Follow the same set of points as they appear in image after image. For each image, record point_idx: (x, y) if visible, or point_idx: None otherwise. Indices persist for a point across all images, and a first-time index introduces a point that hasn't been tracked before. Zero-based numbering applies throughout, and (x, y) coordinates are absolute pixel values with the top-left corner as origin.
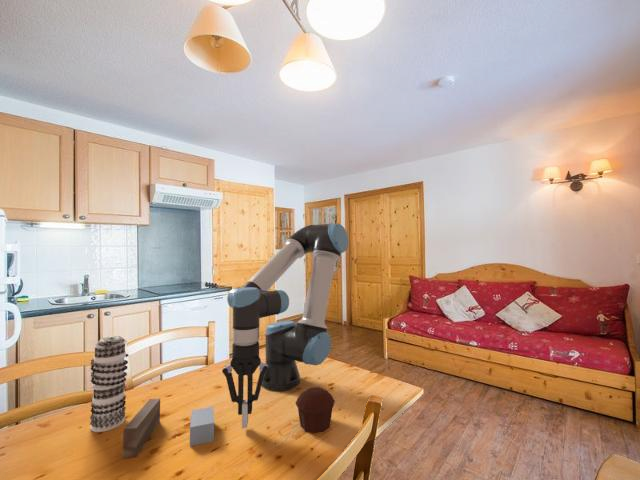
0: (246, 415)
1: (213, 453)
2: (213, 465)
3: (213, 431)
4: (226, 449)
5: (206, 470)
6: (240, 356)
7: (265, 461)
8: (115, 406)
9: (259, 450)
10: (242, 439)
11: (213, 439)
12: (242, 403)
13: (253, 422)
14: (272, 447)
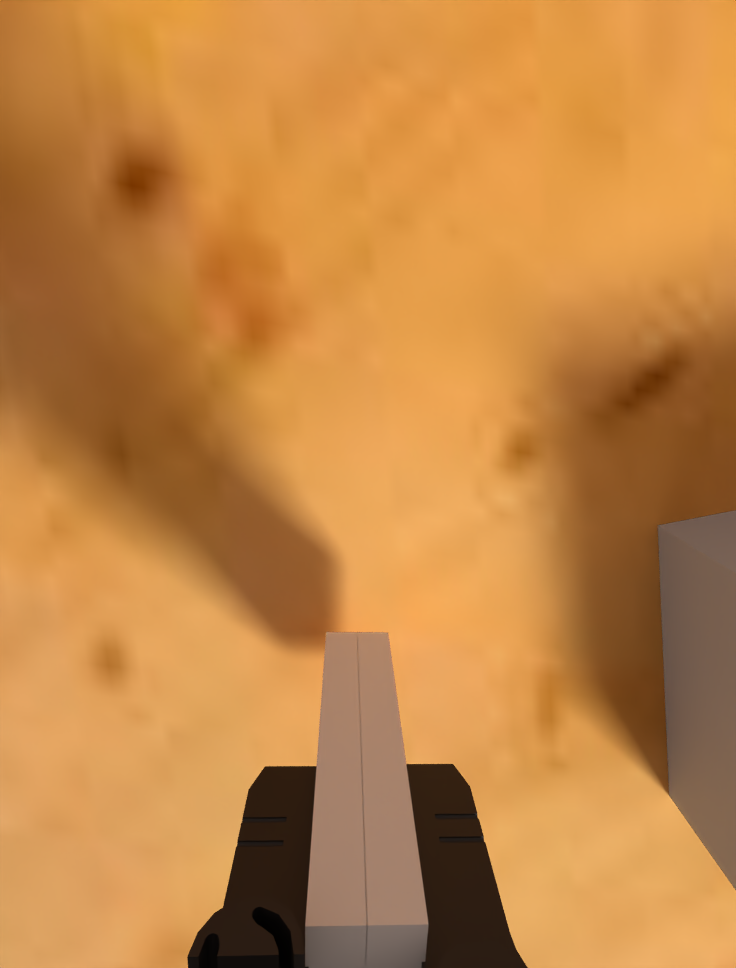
0: (332, 735)
1: (657, 317)
2: (653, 98)
3: (731, 564)
4: (525, 361)
5: (726, 19)
6: None
7: (52, 42)
8: None
9: (156, 275)
10: (368, 502)
11: (671, 528)
12: (422, 960)
13: (279, 756)
14: (7, 303)
